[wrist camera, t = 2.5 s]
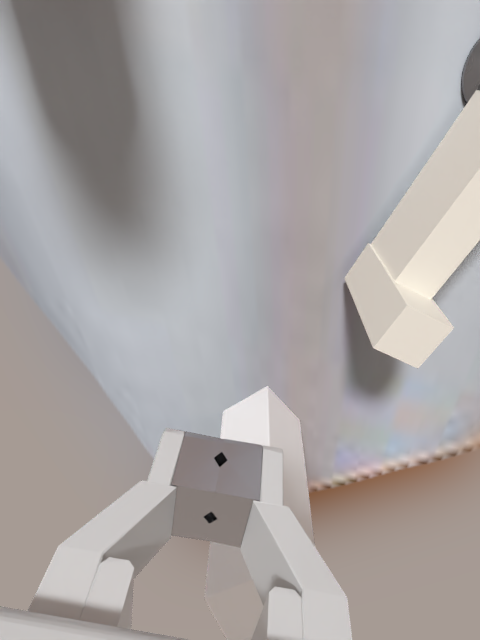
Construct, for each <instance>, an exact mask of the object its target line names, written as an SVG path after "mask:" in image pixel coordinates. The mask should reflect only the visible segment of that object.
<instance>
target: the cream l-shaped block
mask: <svg viewBox="0 0 480 640" xmlns="http://www.w3.org/2000/svg"><path fill="white" fill-rule="evenodd" d="M479 240H480V91H479V90H476V91H475V93H474V94H473V95H472V97H471V98H470V100H469V101H468V103H467V104H466V106H465V107H464V109H463V110H462V112H461V113H460V115H459V116H458V117H457V119H456V120H455V122H454V123H453V125H452V126H451V128H450V129H449V131H448V132H447V134H446V135H445V136H444V138H443V139H442V141H441V142H440V144H439V145H438V147H437V148H436V150H435V151H434V153H433V154H432V155H431V157H430V158H429V160H428V161H427V163H426V164H425V166H424V167H423V169H422V170H421V172H420V173H419V175H418V176H417V177H416V179H415V180H414V182H413V183H412V185H411V186H410V188H409V189H408V191H407V192H406V194H405V195H404V196H403V198H402V199H401V201H400V202H399V204H398V205H397V207H396V208H395V210H394V211H393V213H392V214H391V216H390V217H389V218H388V220H387V221H386V223H385V224H384V226H383V227H382V229H381V230H380V232H379V233H378V235H377V236H376V237H375V239H374V240H373V242H372V243H371V244H369V243H368V244H367V246H366V247H365V248H364V250H363V251H362V253H361V254H360V256H359V257H358V259H357V260H356V262H355V263H354V265H353V266H352V268H351V269H350V271H349V272H348V274H347V275H346V276H345V281H346V283H347V286H348V288H349V290H350V293H351V295H352V298H353V300H354V303H355V305H356V308H357V310H358V312H359V315H360V317H361V320H362V322H363V325H364V327H365V329H366V332H367V334H368V337H369V339H370V342H371V344H372V347H373V348H374V349H376V350H378V351H381V352H383V353H385V354H387V355H389V356H392V357H394V358H396V359H398V360H400V361H403V362H405V363H407V364H409V365H412V366H414V367H416V368H419V367H420V366H421V365H422V363H423V362H424V361H425V360H426V359H427V358H428V357H429V356H430V354H431V353H432V352H433V351H434V350H435V349H436V348H437V347H438V345H439V344H440V343H441V342H442V341H443V340H444V339H445V338H446V336H447V335H448V334H449V333H450V332H451V331H452V330H453V329H454V327H453V326H452V324H451V323H450V322H449V320H448V319H447V318H446V316H445V315H444V314H443V312H442V311H441V310H440V308H439V307H438V306H437V304H436V303H435V302H434V300H433V299H432V298H433V296H434V295H435V294H436V293H437V292H438V290H439V289H440V288H441V287H442V285H443V284H444V283H445V282H446V281H447V279H448V278H449V277H450V276H451V275H452V273H453V272H454V271H455V270H456V268H457V267H458V266H459V265H460V264H461V262H462V261H463V260H464V259H465V257H466V256H467V255H468V254H469V253H470V251H471V250H472V249H473V248H474V246H475V245H476V244H477V243H478V242H479Z"/></svg>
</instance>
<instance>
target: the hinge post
mask: <svg viewBox="0 0 480 640" xmlns="http://www.w3.org/2000/svg"><path fill="white" fill-rule="evenodd" d="M461 86H462V93H463V97H464V99H465V102H466V103H468V101H469V100H470V98H471V97H472V95H473V94H474V93H475V91H476V90H479V91H480V39H479V40H478V41H477V42H476V44H475V45H474V46H473V48H472V50H471V51H470V53H469V55H468V57H467V59H466V62H465V65H464V68H463V72H462V80H461Z"/></svg>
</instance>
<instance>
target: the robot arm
mask: <svg viewBox="0 0 480 640" xmlns="http://www.w3.org/2000/svg"><path fill="white" fill-rule="evenodd" d="M171 535H172V536H179V537H186V538H192V539H199V540H206V541H210V542H215V543H220V544H225V545H230V546H235V547H239V548H240V550H241V553H242V555H243V558H244V560H245V563H246V565H247V567H248V570H249V572H250V575H251V577H252V579H253V582H254V584H255V587H256V589H257V592H258V594H259V596H260V599H261V601H262V604H263V606H264V607H263V610H262V612H261V615H260V618H259V620H258V623H257V626H256V628H255V631H254V634H253V636H252V639H251V640H352V634H351V626H350V617H349V609H348V601H347V597H346V595H345V594H344V592H343V590H342V589H341V587H340V586H339V584H338V583H337V581H336V579H335V578H334V576H333V575H332V573H331V571H330V570H329V568H328V567H327V565H326V564H325V562H324V561H323V559H322V557H321V556H320V554H319V553H318V551H317V549H316V548H315V546H314V545H313V543H312V542H311V540H310V538H309V537H308V535H307V534H306V532H305V531H304V529H303V527H302V526H301V524H300V523H299V521H298V520H297V518H296V516H295V515H294V513H293V512H292V510H291V509H290V507H287V506H284V486H283V450H282V449H281V448H276V447H270V446H264V445H263V446H262V445H259V444H253V443H247V442H241V441H235V440H229V439H221V438H216V437H211V436H206V435H201V434H196V433H191V432H187V431H186V432H185V431H180V430H175V429H170V428H165V430H164V432H163V434H162V437H161V440H160V443H159V446H158V449H157V452H156V455H155V458H154V461H153V464H152V467H151V470H150V474H149V477H148V480H147V481H140V482H138V483H137V484H136V485H135V486H133V487H132V488H131V489H130V490H128V491H127V492H126V493H124V494H123V495H122V496H121V497H119V498H118V499H117V500H116V501H114V502H113V503H112V504H111V505H109V506H108V507H107V508H106V509H104V510H103V511H102V512H101V513H99V514H98V515H97V516H95V517H94V518H93V519H92V520H91V521H89V522H88V523H87V524H85V525H84V526H83V527H82V528H80V529H79V530H78V531H77V532H75V533H74V534H73V535H71V536H70V537H69V538H68V539H66V540H65V541H64V542H63V543H62V544H60V545H59V546H58V548H57V550H56V552H55V554H54V556H53V559H52V561H51V563H50V565H49V567H48V569H47V571H46V574H45V576H44V578H43V580H42V582H41V584H40V586H39V588H38V590H37V593H36V595H35V597H34V599H33V601H32V603H31V605H30V607H29V609H28V611H24V610H18V609H13V608H7V607H1V606H0V640H188V639H182V638H177V637H171V636H166V635H160V634H154V633H148V632H143V631H137V630H132V629H131V622H132V621H131V620H132V602H133V581H134V578H135V577H136V576H137V575H138V574H139V572H141V571H142V569H143V568H144V567H145V566H146V565H147V564H148V563H149V561H150V560H151V559H152V558H153V557H154V556H155V555H156V554H157V553H158V552H159V550H160V549H161V548H162V547H163V546H164V545H165V544H166V542H167V541H168V540H169V539H170V538H171Z"/></svg>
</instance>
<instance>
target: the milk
mask: <svg viewBox="0 0 480 640" xmlns="http://www.w3.org/2000/svg"><path fill="white" fill-rule="evenodd" d="M220 438H221V439H229V440H235V441H241V442H247V443H253V444H259V445H262V446H263V445H264V446H270V447H276V448H281V449H282V450H283V486H284V506H287V507H290V509H291V510H292V512H293V513H294V515H295V516H296V518H297V520H298V521H299V523H300V524H301V526H302V527H303V529H304V531H305V532H306V534H307V535H308V537H309V538H310V540H311V542H312V543H313V545H314V546H315V542H314V534H313V526H312V517H311V509H310V501H309V492H308V484H307V475H306V467H305V459H304V450H303V442H302V434H301V425H300V420H299V419H298V418H297V416H296V415H295V414H294V413H293V412H292V411H291V410H290V409H289V408H288V407H287V406H286V405H285V404H284V403H283V402H282V401H281V399H280V398H279V397H278V396H277V395H276V394H275V393H274V392H273V391H272V390H271V389H270V388H269V387H268V386H266V387H264V388H263V389H261V390H259V391H257V392H256V393H254V394H252V395H250V396H249V397H247V398H245V399H243V400H242V401H240V402H238V403H237V404H235V405H233V406H231V407H230V408H228V409H226V410H224V411H223V417H222V427H221V437H220ZM204 598H205V601H206V603H207V605H208V607H209V609H210V610H211V612H212V614H213V616H214V618H215V620H216V622H217V623H218V625H219V627H220V629H221V631H222V632H223V634H224V636H225V638H226V640H251V639H252V636H253V634H254V631H255V628H256V626H257V623H258V620H259V618H260V615H261V612H262V610H263V607H264V606H263V604H262V601H261V599H260V596H259V594H258V592H257V589H256V587H255V584H254V582H253V579H252V577H251V575H250V572H249V570H248V567H247V565H246V563H245V560H244V558H243V555H242V553H241V550H240V548H239V547H235V546H230V545H225V544H220V543H215V542H210V546H209V556H208V566H207V576H206V586H205V597H204Z"/></svg>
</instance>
